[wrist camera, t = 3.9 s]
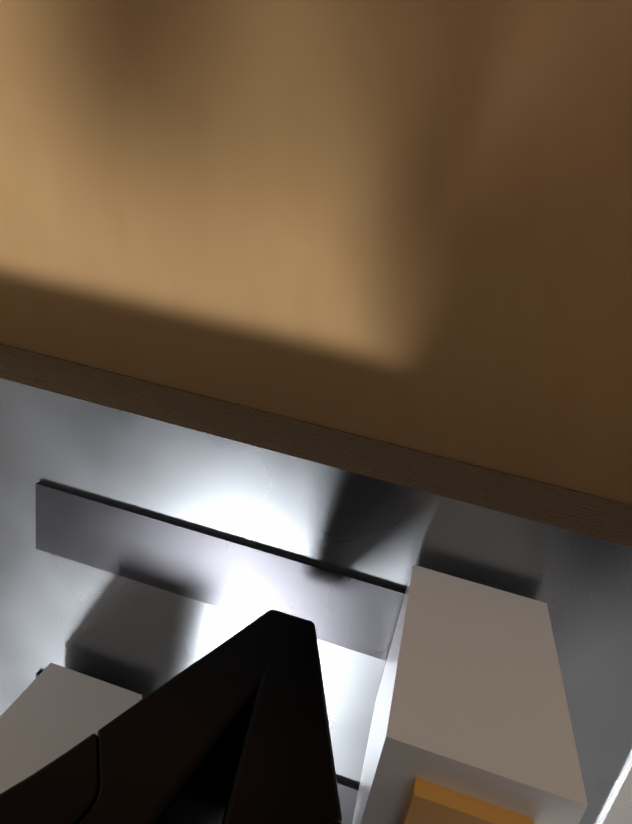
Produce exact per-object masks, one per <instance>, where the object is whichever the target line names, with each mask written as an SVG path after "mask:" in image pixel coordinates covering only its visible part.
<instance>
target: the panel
mask: <svg viewBox="0 0 632 824" xmlns="http://www.w3.org/2000/svg"><path fill="white" fill-rule="evenodd" d="M413 565H416V566H420V567H423V568H427V569H430V570H434V571H437V572H441V573H444V574H447V575H451V576H454V577H458V578H461V579H465V580H468V581H472V582H475V583H479V584H482V585H485V586H489V587H492V588H496V589H499V590H503V591H506V592H510V593H513V594H517V595H520V596H523V597H527V598H530V599H534V600H537V601H541V602H544V603H547V606H548V611H549V616H550V621H551V626H552V631H553V636H554V641H555V646H556V651H557V656H558V661H559V666H560V670H561V675H562V680H563V685H564V690H565V695H566V700H567V705H568V710H569V715H570V720H571V725H572V730H573V735H574V740H575V745H576V750H577V754H578V759H579V764H580V769H581V774H582V779H583V784H584V789H585V794H586V799H587V804H588V806H587V808H586V810H585V812H584V814H583V816H582V818H581V820H580V822H579V824H632V506H631V505H627V504H623V503H619V502H615V501H611V500H608V499H604V498H600V497H596V496H592V495H588V494H584V493H580V492H576V491H572V490H568V489H565V488H561V487H557V486H553V485H549V484H545V483H541V482H537V481H533V480H529V479H526V478H522V477H518V476H514V475H510V474H506V473H502V472H498V471H494V470H490V469H486V468H483V467H479V466H475V465H471V464H467V463H463V462H459V461H455V460H451V459H447V458H443V457H440V456H436V455H432V454H428V453H424V452H420V451H416V450H412V449H408V448H404V447H400V446H397V445H393V444H389V443H385V442H381V441H377V440H373V439H369V438H365V437H361V436H357V435H354V434H350V433H346V432H342V431H338V430H334V429H330V428H326V427H322V426H318V425H315V424H311V423H307V422H303V421H299V420H295V419H291V418H287V417H283V416H279V415H275V414H272V413H268V412H264V411H260V410H256V409H252V408H248V407H244V406H240V405H236V404H232V403H229V402H225V401H221V400H217V399H213V398H209V397H205V396H201V395H197V394H193V393H189V392H186V391H182V390H178V389H174V388H170V387H166V386H162V385H158V384H154V383H150V382H146V381H143V380H139V379H135V378H131V377H127V376H123V375H119V374H115V373H111V372H107V371H104V370H100V369H96V368H92V367H88V366H84V365H80V364H76V363H72V362H68V361H64V360H61V359H57V358H53V357H49V356H45V355H41V354H37V353H33V352H29V351H25V350H21V349H18V348H14V347H10V346H6V345H2V344H0V716H1V715H2V714H3V713H4V712H5V711H6V710H7V709H8V708H9V707H10V706H11V705H12V704H13V702H14V701H15V700H16V699H17V698H18V697H19V696H20V695H21V694H22V693H23V692H24V691H25V690H26V689H27V687H28V686H29V685H30V684H31V683H32V682H33V681H34V680H35V679H36V678H37V677H38V676H39V675H40V674H41V672H42V671H43V670H44V669H45V668H46V667H47V666H48V665H49V664H50V663H54V664H57V665H60V666H62V667H65V668H68V669H71V670H74V671H76V672H79V673H82V674H85V675H88V676H90V677H93V678H96V679H99V680H102V681H104V682H107V683H110V684H113V685H116V686H119V687H121V688H124V689H127V690H130V691H133V692H135V693H138V694H141V695H142V699H143V698H145V697H146V696H148V695H149V694H150V693H152V692H153V691H155V690H156V689H157V688H159V687H160V686H162V685H163V684H165V683H166V682H167V681H169V680H170V679H172V678H173V677H175V676H176V675H177V674H179V673H180V672H182V671H183V670H185V669H186V668H187V667H189V666H190V665H192V664H193V663H195V662H196V661H197V660H199V659H200V658H202V657H203V656H205V655H206V654H207V653H209V652H210V651H212V650H213V649H215V648H216V647H217V646H219V645H220V644H222V643H223V642H225V641H226V640H227V639H229V638H230V637H232V636H233V635H235V634H236V633H237V632H239V631H240V630H242V629H243V628H245V627H246V626H247V625H249V624H250V623H252V622H253V621H255V620H256V619H257V618H259V617H260V616H262V615H263V614H265V613H266V612H267V611H269V610H277V611H280V612H284V613H287V614H290V615H293V616H297V617H300V618H303V619H306V620H310V621H312V622H313V623H314V625H315V629H316V636H317V643H318V650H319V657H320V664H321V671H322V678H323V686H324V693H325V700H326V707H327V714H328V721H329V728H330V736H331V743H332V750H333V757H334V764H335V771H336V778H337V785H338V793H339V800H340V807H341V814H342V822H341V823H342V824H352V821H353V816H354V811H355V806H356V801H357V795H358V790H359V785H360V780H361V774H362V769H363V764H364V759H365V753H366V748H367V743H368V738H369V733H370V727H371V722H372V717H373V712H374V706H375V701H376V697H377V694H378V690H379V687H380V683H381V679H382V676H383V672H384V668H385V665H386V661H387V658H388V654H389V650H390V647H391V643H392V640H393V636H394V632H395V629H396V625H397V621H398V618H399V614H400V611H401V607H402V603H403V600H404V596H405V592H406V589H407V585H408V582H409V578H410V574H411V571H412V567H413Z"/></svg>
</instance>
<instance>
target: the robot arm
mask: <svg viewBox="0 0 632 824" xmlns="http://www.w3.org/2000/svg"><path fill="white" fill-rule="evenodd" d="M341 822H342V814H341V807H340V800H339V793H338V785H337V778H336V771H335V764H334V757H333V750H332V743H331V736H330V728H329V721H328V714H327V707H326V700H325V693H324V686H323V678H322V671H321V664H320V657H319V650H318V643H317V636H316V629H315V625H314V623H313V622H312V621H310V620H306V619H303V618H300V617H297V616H293V615H290V614H287V613H284V612H280V611H277V610H269V611H267V612H266V613H265V614H263V615H262V616H260V617H259V618H257V619H256V620H255V621H253V622H252V623H250V624H249V625H247V626H246V627H245V628H243V629H242V630H240V631H239V632H237V633H236V634H235V635H233V636H232V637H230V638H229V639H227V640H226V641H225V642H223V643H222V644H220V645H219V646H217V647H216V648H215V649H213V650H212V651H210V652H209V653H207V654H206V655H205V656H203V657H202V658H200V659H199V660H197V661H196V662H195V663H193V664H192V665H190V666H189V667H187V668H186V669H185V670H183V671H182V672H180V673H179V674H177V675H176V676H175V677H173V678H172V679H170V680H169V681H167V682H166V683H165V684H163V685H162V686H160V687H159V688H157V689H156V690H155V691H153V692H152V693H150V694H149V695H148V696H146V697H145V698H143V699H142V700H140V701H139V702H138V703H136V704H135V705H133V706H132V707H130V708H129V709H128V710H126V711H125V712H123V713H122V714H120V715H119V716H118V717H116V718H115V719H113V720H112V721H110V722H109V723H108V724H106V725H105V726H103V727H102V728H100V729H99V730H98V732H97V735H96V734H91V735H90V736H89V737H87V738H86V739H84V740H83V741H81V742H80V743H79V744H77V745H76V746H74V747H73V748H71V749H70V750H69V751H67V752H66V753H64V754H62V755H61V756H59V757H58V758H56V759H55V760H53V761H52V762H50V763H49V764H47V765H46V766H44V767H43V768H41V769H40V770H38V771H37V772H35V773H34V774H32V775H31V776H29V777H27V778H26V779H24V780H22V781H21V782H19V783H17V784H16V785H14V786H12V787H11V788H9V789H7V790H6V791H4V792H2V793H1V794H0V824H342V823H341Z"/></svg>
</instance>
